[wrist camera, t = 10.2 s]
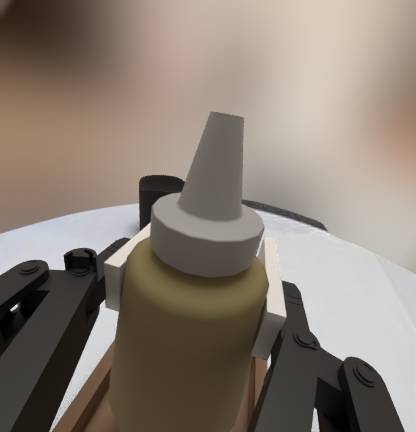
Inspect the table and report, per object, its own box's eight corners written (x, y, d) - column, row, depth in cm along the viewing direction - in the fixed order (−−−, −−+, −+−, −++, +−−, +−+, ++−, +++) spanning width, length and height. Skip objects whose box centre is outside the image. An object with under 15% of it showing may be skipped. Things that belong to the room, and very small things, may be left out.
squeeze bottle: (126, 343, 18) (130, 98, 10) (221, 344, 19) (284, 128, 12) (87, 502, 10) (9, 64, 3) (245, 485, 12) (451, 151, 4)
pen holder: (129, 240, 37) (130, 185, 33) (147, 218, 46) (150, 172, 42) (182, 250, 37) (190, 196, 33) (191, 226, 46) (197, 180, 41)
